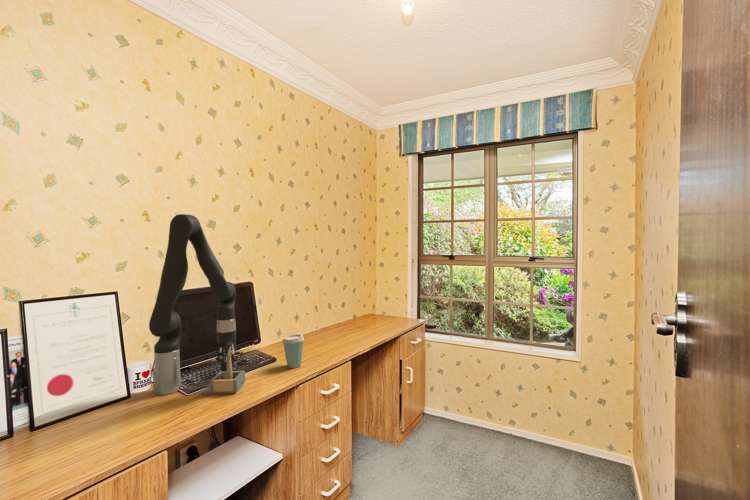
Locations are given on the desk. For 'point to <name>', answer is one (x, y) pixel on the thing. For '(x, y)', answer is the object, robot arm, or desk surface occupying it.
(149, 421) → the desk surface
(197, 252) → the robot arm
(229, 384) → the socket
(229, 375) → the handle
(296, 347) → the disposable coffee cup
